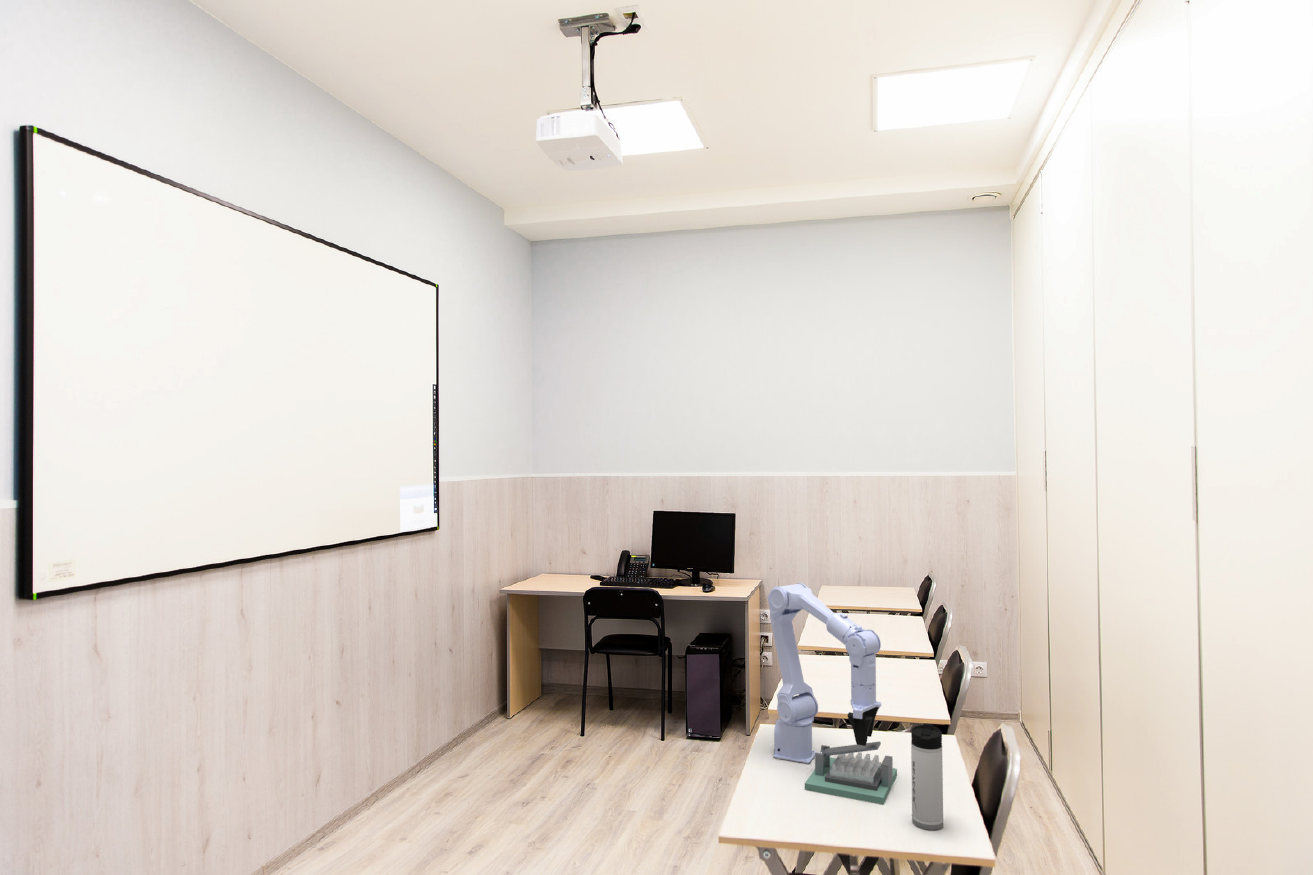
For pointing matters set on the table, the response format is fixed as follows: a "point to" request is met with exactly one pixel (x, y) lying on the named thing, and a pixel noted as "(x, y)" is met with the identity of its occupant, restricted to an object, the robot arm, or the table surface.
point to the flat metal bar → (850, 749)
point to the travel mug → (927, 777)
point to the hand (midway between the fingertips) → (864, 740)
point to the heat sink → (856, 767)
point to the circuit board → (849, 786)
